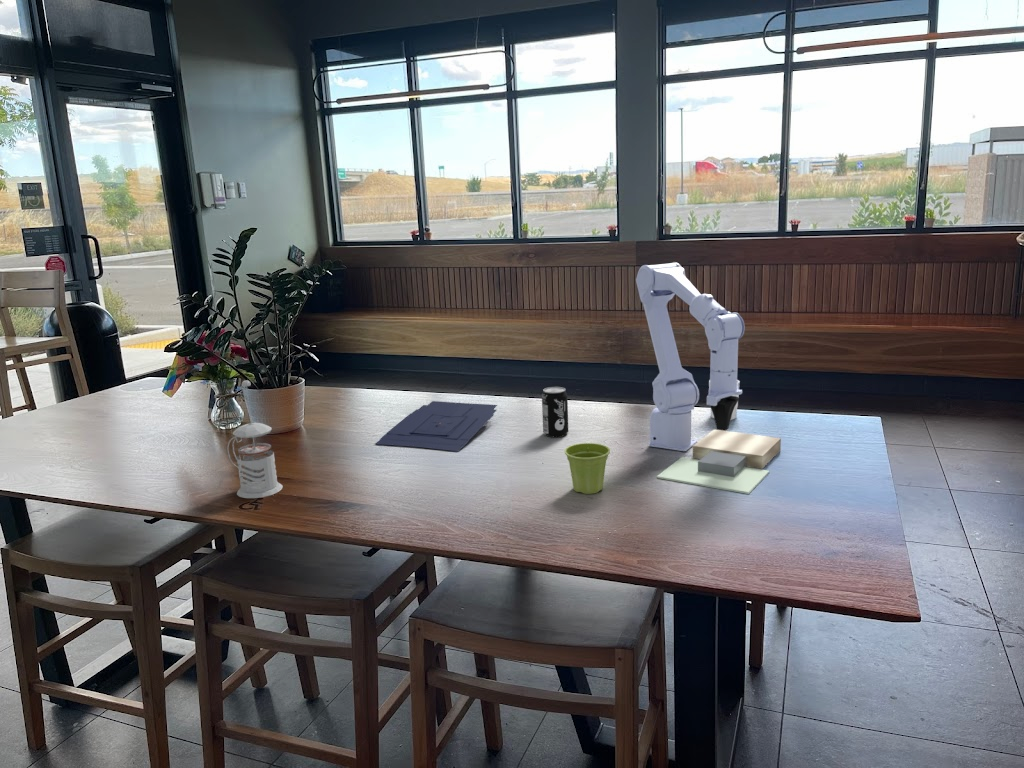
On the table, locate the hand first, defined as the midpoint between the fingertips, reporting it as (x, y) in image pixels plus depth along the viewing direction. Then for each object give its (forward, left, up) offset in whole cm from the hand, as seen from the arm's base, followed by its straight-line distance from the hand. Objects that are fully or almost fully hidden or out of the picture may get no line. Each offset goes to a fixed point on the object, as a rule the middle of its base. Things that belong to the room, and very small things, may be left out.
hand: (722, 429), depth 172 cm
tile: (+1, -3, -8) cm, 9 cm away
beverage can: (-46, +4, -9) cm, 46 cm away
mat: (0, -7, -8) cm, 11 cm away
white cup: (-13, +37, -9) cm, 40 cm away
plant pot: (-20, -26, -9) cm, 34 cm away
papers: (-75, -7, -9) cm, 76 cm away
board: (0, +9, -8) cm, 12 cm away
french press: (-85, -60, -9) cm, 104 cm away
